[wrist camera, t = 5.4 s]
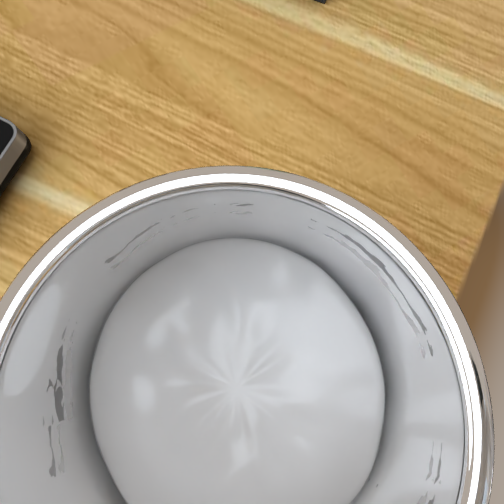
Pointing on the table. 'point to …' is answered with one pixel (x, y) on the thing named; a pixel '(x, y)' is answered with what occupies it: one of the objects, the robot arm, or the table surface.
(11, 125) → the external hard drive
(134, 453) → the shiny metal tumbler
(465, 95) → the table surface
